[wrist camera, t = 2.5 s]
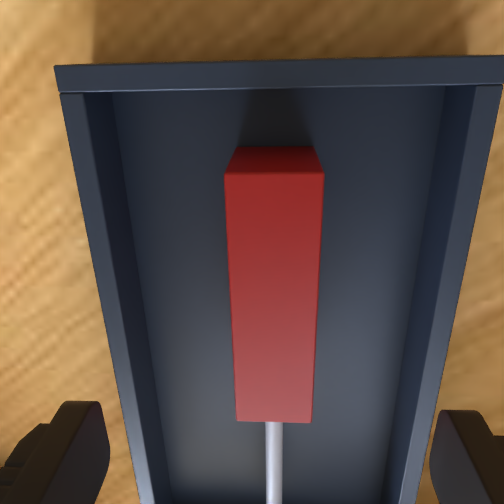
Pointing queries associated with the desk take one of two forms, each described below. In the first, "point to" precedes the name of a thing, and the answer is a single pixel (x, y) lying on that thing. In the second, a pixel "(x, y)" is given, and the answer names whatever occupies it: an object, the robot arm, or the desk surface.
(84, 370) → the desk surface
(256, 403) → the screwdriver
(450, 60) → the tray
